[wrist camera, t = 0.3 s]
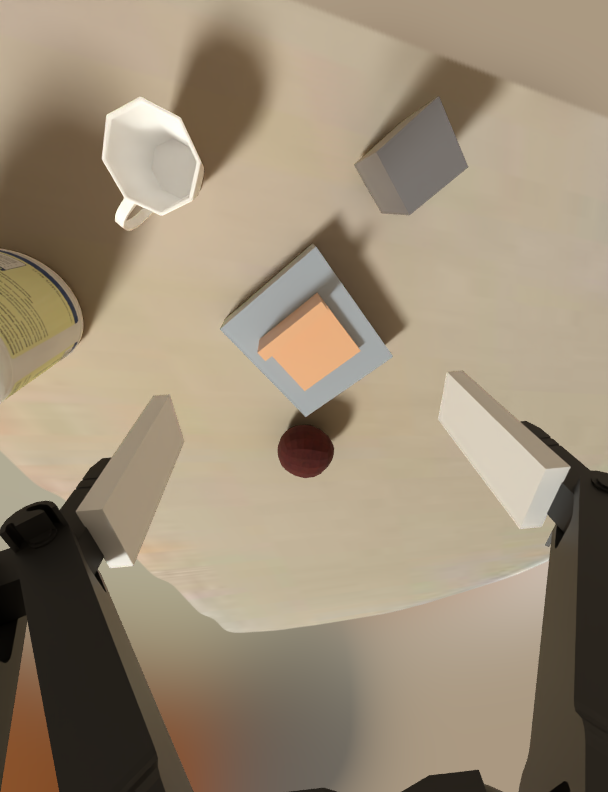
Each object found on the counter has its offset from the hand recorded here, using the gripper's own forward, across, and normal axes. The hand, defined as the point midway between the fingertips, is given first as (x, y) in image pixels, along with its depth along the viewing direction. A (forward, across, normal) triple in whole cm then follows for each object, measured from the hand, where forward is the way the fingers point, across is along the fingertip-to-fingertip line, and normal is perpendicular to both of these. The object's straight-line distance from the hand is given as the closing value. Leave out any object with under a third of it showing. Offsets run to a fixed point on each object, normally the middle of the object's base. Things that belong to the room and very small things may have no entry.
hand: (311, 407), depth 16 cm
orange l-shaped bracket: (+21, +1, -5) cm, 21 cm away
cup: (+25, -11, +11) cm, 29 cm away
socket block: (+24, +1, -5) cm, 25 cm away
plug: (+24, +10, +11) cm, 28 cm away
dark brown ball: (+25, 0, -20) cm, 32 cm away
